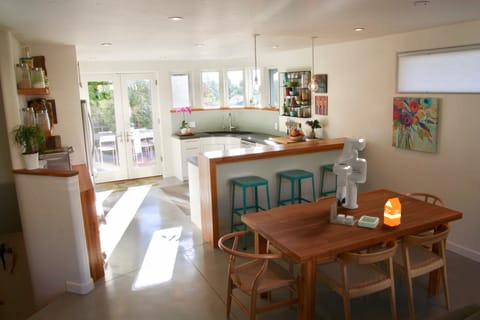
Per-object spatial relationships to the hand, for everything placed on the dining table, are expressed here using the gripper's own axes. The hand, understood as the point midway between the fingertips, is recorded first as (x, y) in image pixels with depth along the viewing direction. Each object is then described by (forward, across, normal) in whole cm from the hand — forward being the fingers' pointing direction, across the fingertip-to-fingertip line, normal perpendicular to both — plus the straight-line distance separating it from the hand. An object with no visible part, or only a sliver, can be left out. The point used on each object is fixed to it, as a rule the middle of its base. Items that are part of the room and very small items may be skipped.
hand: (341, 205), depth 302 cm
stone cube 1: (+13, -1, 0) cm, 13 cm away
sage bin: (+14, -4, +20) cm, 25 cm away
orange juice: (+14, -14, +35) cm, 40 cm away
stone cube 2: (+13, -1, +6) cm, 15 cm away
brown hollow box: (+14, -1, +2) cm, 14 cm away
